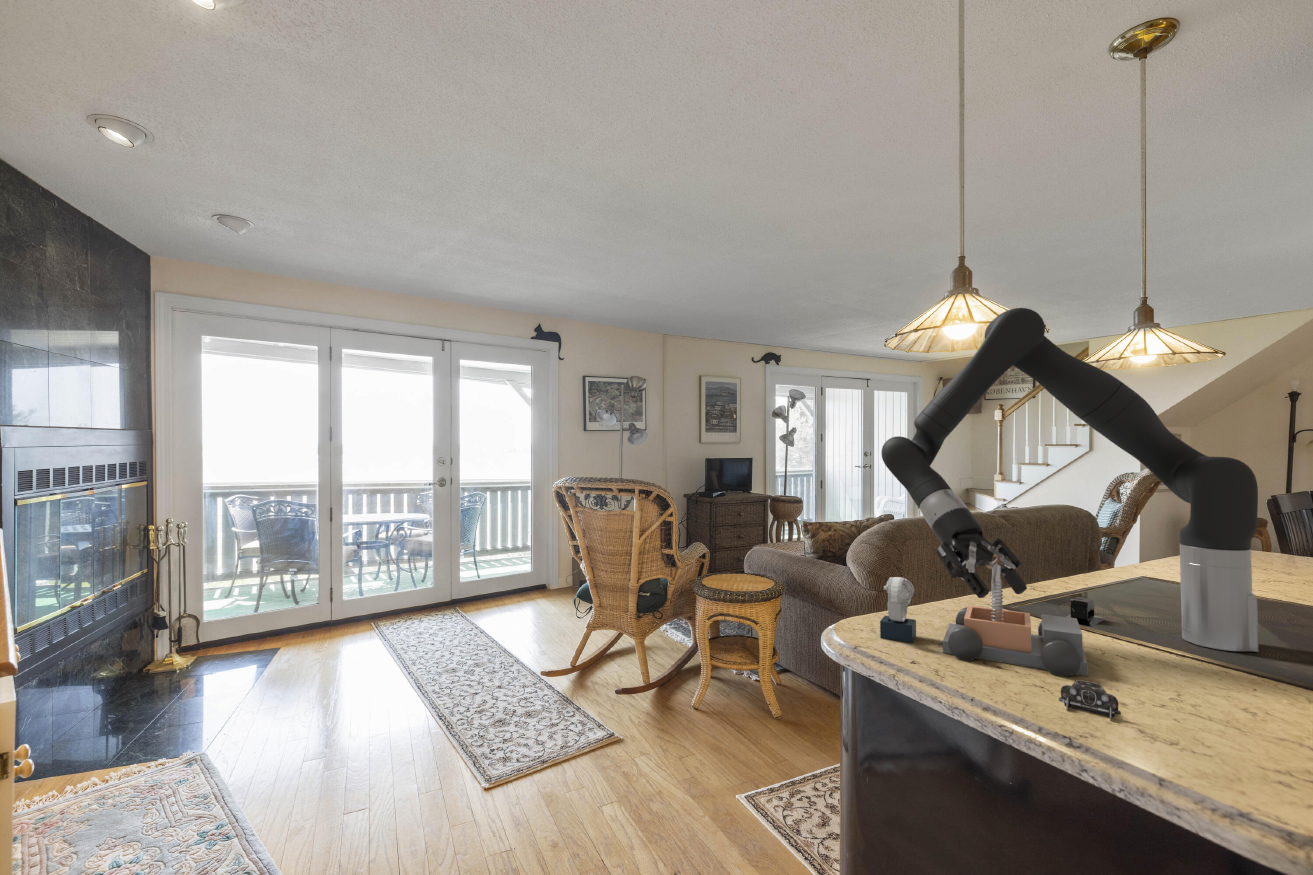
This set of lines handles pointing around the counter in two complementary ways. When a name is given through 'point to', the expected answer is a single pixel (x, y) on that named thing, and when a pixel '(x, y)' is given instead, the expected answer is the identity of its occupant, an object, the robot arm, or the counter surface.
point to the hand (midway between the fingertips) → (1003, 593)
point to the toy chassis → (1018, 640)
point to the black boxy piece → (1084, 611)
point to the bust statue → (898, 612)
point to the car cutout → (1089, 698)
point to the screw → (996, 594)
